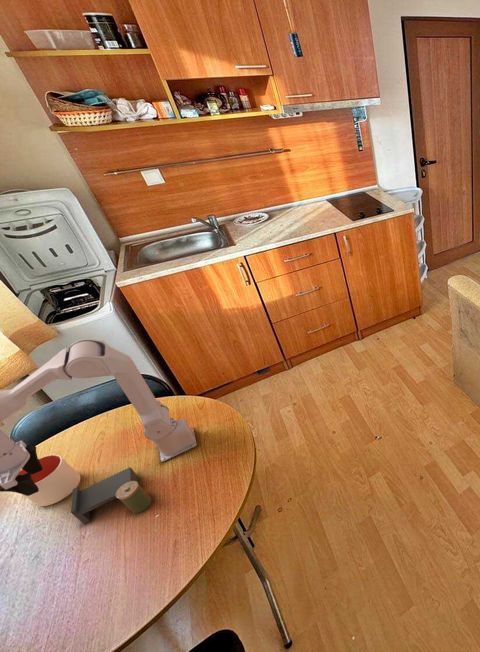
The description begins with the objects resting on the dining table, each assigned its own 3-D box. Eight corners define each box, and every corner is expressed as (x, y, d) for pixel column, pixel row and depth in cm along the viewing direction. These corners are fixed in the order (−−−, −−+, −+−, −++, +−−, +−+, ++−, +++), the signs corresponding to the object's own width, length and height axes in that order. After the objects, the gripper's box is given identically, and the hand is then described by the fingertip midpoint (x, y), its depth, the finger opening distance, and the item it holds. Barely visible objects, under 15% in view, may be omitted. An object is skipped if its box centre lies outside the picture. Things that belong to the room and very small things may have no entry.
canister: (151, 493, 106) (136, 476, 102) (152, 506, 103) (137, 489, 98) (130, 503, 104) (114, 486, 99) (131, 517, 101) (114, 500, 96)
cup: (54, 511, 102) (30, 491, 97) (26, 504, 104) (1, 484, 99) (91, 477, 110) (71, 457, 105) (65, 471, 112) (43, 451, 107)
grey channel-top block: (137, 475, 111) (127, 464, 107) (139, 496, 106) (128, 484, 102) (85, 500, 105) (72, 489, 101) (83, 524, 99) (70, 512, 96)
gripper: (-18, 440, 94) (19, 470, 102) (-33, 482, 85) (9, 513, 92) (21, 425, 98) (53, 456, 105) (11, 465, 88) (47, 495, 96)
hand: (35, 481), depth 99 cm, fingers open, 7 cm apart
